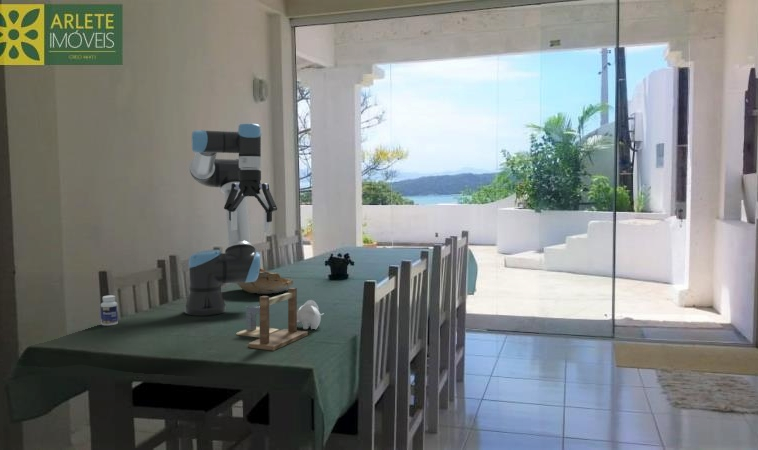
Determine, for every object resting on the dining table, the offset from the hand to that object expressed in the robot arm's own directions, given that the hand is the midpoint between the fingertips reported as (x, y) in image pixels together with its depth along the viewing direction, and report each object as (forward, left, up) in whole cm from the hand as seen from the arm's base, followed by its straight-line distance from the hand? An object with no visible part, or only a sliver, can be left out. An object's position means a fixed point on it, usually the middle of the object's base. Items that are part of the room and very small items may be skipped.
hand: (250, 231), depth 209 cm
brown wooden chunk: (-33, +54, -33) cm, 71 cm away
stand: (+21, -15, -33) cm, 42 cm away
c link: (+9, -9, -32) cm, 35 cm away
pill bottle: (-45, -20, -33) cm, 59 cm away
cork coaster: (+9, -9, -33) cm, 35 cm away
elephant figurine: (+20, +4, -33) cm, 39 cm away
